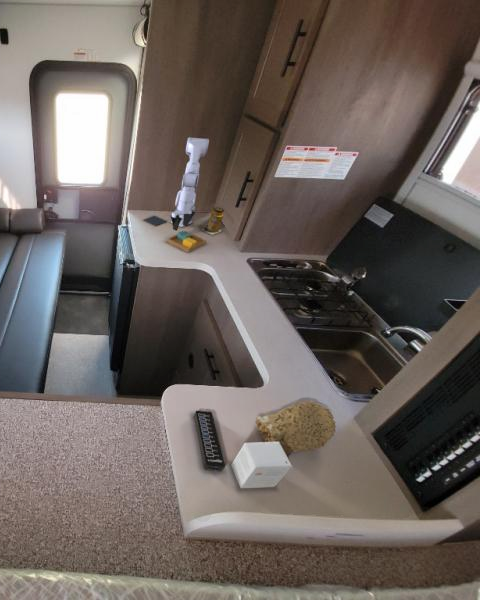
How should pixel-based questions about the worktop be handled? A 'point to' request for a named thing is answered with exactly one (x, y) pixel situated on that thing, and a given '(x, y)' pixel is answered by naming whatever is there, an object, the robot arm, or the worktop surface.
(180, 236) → the packet teal
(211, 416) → the tool bit set
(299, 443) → the sponge
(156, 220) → the mat
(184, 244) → the block
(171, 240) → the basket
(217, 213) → the condiment
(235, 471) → the small box
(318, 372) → the worktop surface
